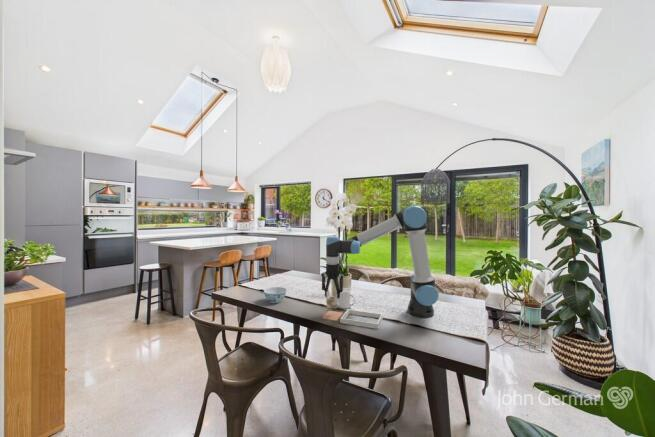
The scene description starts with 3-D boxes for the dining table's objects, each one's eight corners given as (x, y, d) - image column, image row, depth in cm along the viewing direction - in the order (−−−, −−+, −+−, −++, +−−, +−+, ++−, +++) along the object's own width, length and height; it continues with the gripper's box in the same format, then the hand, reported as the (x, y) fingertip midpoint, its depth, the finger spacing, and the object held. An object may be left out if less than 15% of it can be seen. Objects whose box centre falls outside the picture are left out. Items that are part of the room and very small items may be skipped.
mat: (343, 313, 163) (343, 312, 163) (336, 321, 152) (336, 320, 152) (329, 311, 166) (329, 310, 166) (321, 318, 155) (321, 318, 155)
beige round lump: (337, 305, 160) (337, 297, 160) (334, 308, 156) (334, 300, 155) (329, 304, 162) (329, 296, 162) (326, 307, 157) (326, 298, 157)
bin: (382, 318, 156) (382, 313, 156) (377, 328, 142) (377, 324, 142) (348, 313, 163) (348, 309, 163) (340, 322, 149) (340, 318, 149)
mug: (350, 311, 166) (350, 293, 166) (335, 306, 174) (335, 290, 174) (358, 307, 173) (358, 290, 172) (343, 303, 181) (343, 287, 180)
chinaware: (276, 307, 173) (276, 295, 173) (259, 302, 181) (259, 291, 181) (291, 300, 186) (291, 289, 186) (274, 296, 194) (274, 285, 194)
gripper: (349, 263, 158) (349, 302, 159) (320, 260, 165) (320, 298, 165) (345, 265, 151) (345, 307, 152) (315, 263, 158) (315, 302, 158)
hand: (332, 302), depth 159 cm, fingers closed on beige round lump, 5 cm apart
